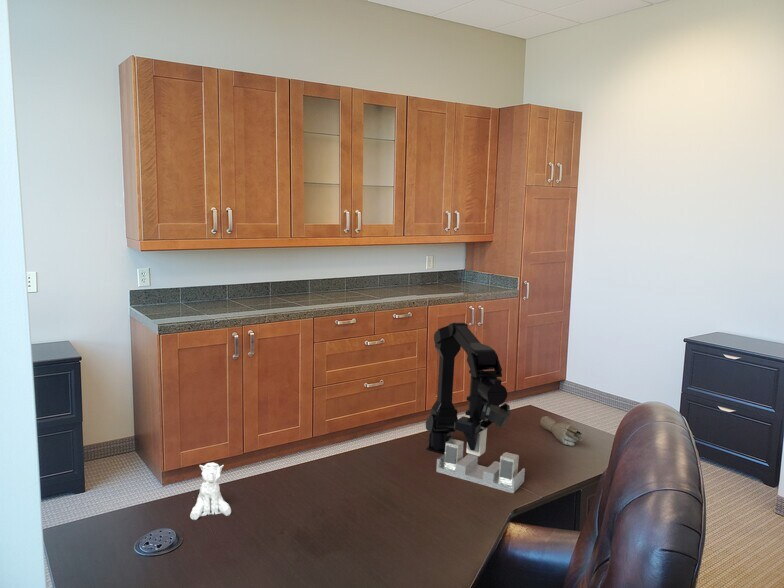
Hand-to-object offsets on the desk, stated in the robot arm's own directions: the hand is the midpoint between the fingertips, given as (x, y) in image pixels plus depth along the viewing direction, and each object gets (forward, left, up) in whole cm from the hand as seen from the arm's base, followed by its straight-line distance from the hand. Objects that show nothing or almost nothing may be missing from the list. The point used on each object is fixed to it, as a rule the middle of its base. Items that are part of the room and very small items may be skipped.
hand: (475, 447), depth 170 cm
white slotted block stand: (0, +6, -11) cm, 12 cm away
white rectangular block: (0, 0, -2) cm, 2 cm away
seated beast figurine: (-47, -53, -11) cm, 72 cm away
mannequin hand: (+11, +51, -11) cm, 54 cm away
